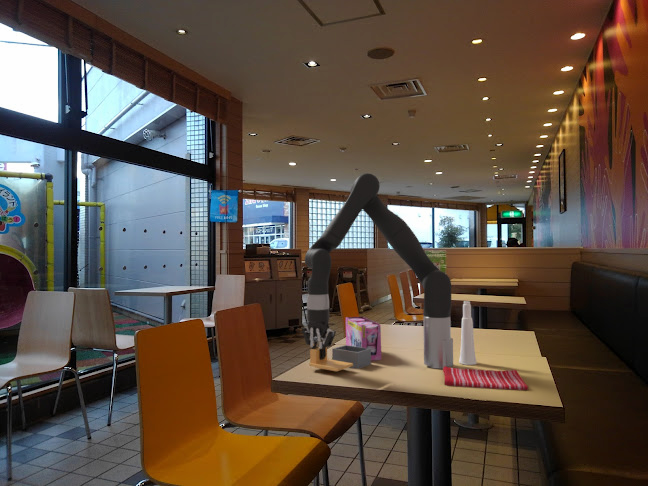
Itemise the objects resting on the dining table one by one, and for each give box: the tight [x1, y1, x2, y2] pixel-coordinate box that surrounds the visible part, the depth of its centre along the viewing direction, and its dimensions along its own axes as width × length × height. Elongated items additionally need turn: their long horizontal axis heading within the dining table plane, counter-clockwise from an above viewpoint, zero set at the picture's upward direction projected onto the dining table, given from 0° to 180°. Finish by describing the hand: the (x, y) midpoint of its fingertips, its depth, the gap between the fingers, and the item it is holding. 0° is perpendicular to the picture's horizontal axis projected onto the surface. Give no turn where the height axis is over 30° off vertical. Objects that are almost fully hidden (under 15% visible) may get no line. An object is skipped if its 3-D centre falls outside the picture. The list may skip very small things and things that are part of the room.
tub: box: [331, 344, 372, 370], centre depth 162 cm, size 11×8×6 cm
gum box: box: [345, 316, 382, 361], centre depth 178 cm, size 24×8×14 cm, turn 12°
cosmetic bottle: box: [458, 300, 478, 366], centre depth 165 cm, size 6×6×22 cm
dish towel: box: [442, 366, 529, 391], centre depth 142 cm, size 17×24×3 cm
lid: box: [309, 346, 353, 372], centre depth 153 cm, size 12×9×6 cm
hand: (318, 358), depth 156 cm, fingers closed on lid, 2 cm apart
